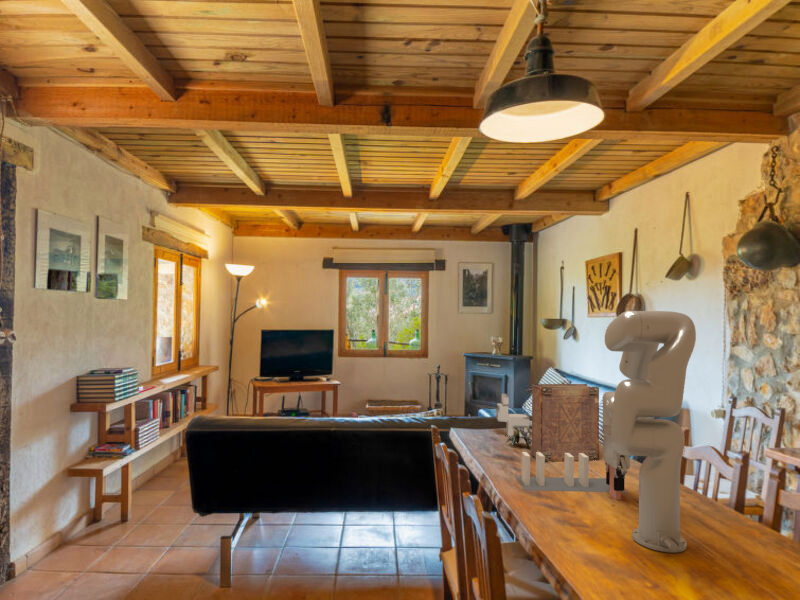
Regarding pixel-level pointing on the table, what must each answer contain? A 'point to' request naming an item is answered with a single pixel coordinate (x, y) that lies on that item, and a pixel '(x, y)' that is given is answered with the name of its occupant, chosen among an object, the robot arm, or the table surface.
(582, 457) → the domino
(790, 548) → the table surface
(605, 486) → the domino mat
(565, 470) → the domino
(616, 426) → the robot arm
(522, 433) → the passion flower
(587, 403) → the book
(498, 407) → the toy llama
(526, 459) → the domino
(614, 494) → the domino
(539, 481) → the domino
